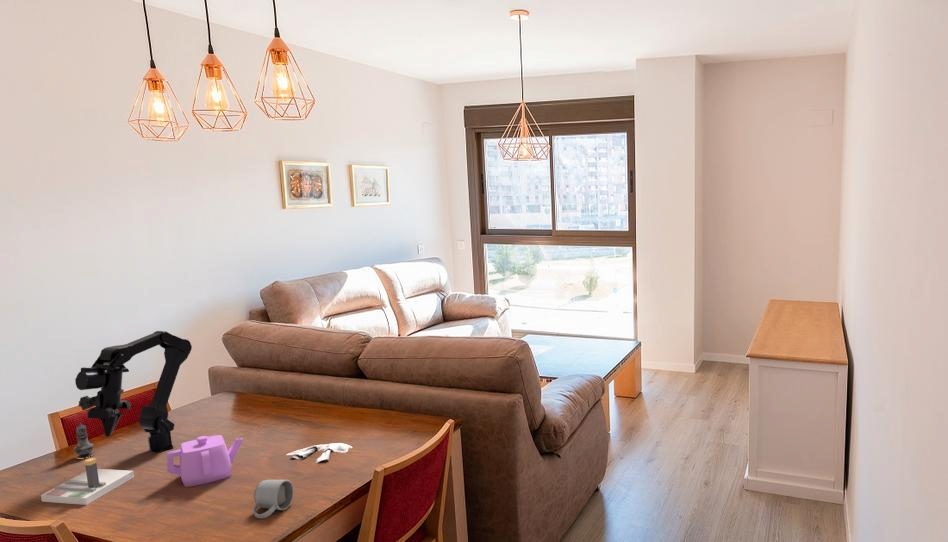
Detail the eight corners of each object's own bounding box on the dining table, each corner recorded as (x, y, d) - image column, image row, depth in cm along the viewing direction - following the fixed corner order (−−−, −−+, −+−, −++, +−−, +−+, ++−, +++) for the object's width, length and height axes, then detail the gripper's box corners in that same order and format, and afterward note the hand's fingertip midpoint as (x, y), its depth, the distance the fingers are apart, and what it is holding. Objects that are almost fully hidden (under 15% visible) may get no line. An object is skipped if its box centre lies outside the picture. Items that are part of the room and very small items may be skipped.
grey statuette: (85, 460, 218) (80, 426, 216) (70, 459, 219) (65, 425, 217) (99, 453, 223) (94, 419, 222) (84, 452, 225) (79, 419, 223)
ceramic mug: (270, 499, 180) (267, 472, 179) (295, 501, 178) (292, 475, 177) (245, 518, 170) (242, 491, 169) (272, 521, 168) (268, 493, 167)
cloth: (361, 446, 216) (360, 439, 215) (322, 474, 196) (321, 467, 195) (311, 441, 224) (310, 434, 223) (268, 467, 204) (267, 460, 203)
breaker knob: (94, 485, 192) (90, 458, 191) (100, 485, 191) (96, 458, 190) (88, 488, 190) (84, 461, 188) (94, 488, 189) (90, 461, 188)
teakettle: (163, 486, 193) (158, 446, 192) (202, 462, 210) (198, 425, 208) (211, 490, 188) (206, 449, 187) (247, 465, 205) (243, 428, 203)
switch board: (92, 474, 205) (91, 466, 205) (134, 476, 201) (133, 468, 201) (41, 501, 188) (40, 492, 188) (86, 504, 184) (85, 495, 184)
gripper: (97, 382, 215) (93, 430, 215) (70, 390, 197) (66, 442, 196) (132, 383, 217) (129, 430, 216) (109, 391, 198) (105, 442, 198)
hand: (107, 436), depth 206 cm, fingers closed
